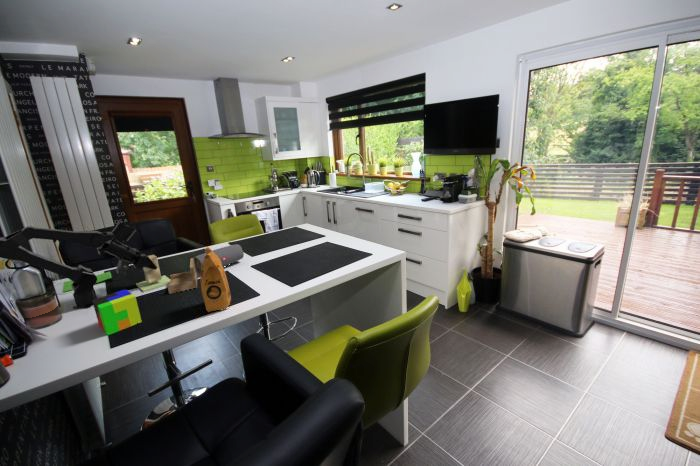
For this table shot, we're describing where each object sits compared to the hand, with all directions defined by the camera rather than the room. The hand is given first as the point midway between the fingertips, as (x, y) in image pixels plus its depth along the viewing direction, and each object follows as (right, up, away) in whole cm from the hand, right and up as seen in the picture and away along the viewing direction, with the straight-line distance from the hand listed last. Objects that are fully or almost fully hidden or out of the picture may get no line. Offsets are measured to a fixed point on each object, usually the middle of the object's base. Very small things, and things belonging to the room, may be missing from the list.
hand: (154, 267), depth 143 cm
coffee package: (+38, -12, -22) cm, 45 cm away
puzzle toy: (+8, -17, -32) cm, 37 cm away
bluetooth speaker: (+23, -2, +17) cm, 29 cm away
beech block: (-1, -6, +1) cm, 6 cm away
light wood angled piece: (+14, -8, -2) cm, 17 cm away
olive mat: (-1, -8, +1) cm, 8 cm away
